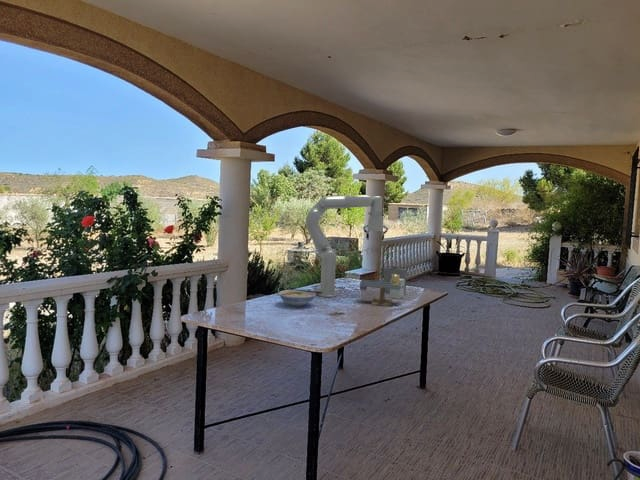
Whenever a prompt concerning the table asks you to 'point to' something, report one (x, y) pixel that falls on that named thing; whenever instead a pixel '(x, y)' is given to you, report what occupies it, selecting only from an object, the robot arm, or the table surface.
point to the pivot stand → (382, 299)
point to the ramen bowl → (297, 296)
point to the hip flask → (394, 270)
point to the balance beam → (378, 285)
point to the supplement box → (398, 293)
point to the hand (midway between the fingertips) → (375, 239)
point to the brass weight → (395, 279)
